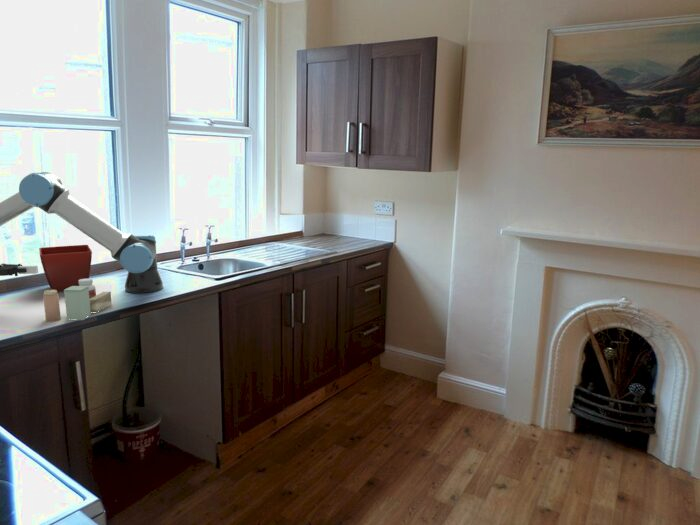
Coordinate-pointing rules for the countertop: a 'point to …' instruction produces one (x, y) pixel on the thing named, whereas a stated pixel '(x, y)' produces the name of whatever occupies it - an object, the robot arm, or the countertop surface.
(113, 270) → the countertop surface
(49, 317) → the spice jar
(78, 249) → the plant pot
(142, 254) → the robot arm
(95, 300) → the block
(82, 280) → the pill bottle
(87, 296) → the tea tin
